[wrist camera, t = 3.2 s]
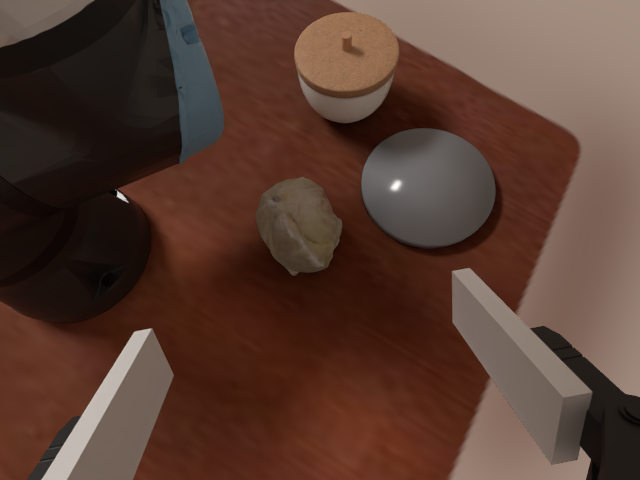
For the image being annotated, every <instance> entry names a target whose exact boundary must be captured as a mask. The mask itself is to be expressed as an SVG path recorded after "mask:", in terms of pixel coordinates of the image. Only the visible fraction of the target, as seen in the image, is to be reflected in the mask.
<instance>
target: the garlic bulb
mask: <svg viewBox="0 0 640 480" xmlns="http://www.w3.org/2000/svg"><path fill="white" fill-rule="evenodd" d="M255 218H256V223H257V228H258V230H259V232H260V235H261V238H262V239H263V241H264V242H265V243H266V245H267V246H268V247H269V249H270V252H271V254H272V256H273V257H274V258H275V259H276V260H277V261H278V262H279V263H280V264H281V265H283V266H284V267H285V268H286V269H287V270H288V271H289V272H290V273H291V274H292V275H293V276H295V275H297V274H298V272H306V273H310V272H317V271H321V270H323V269H325V268H327V267H328V266H329V263H330V261H331V259H332V258H333V250H334V249H335V248H336V247H337V245H338V243H339V241H340V239H339V237H340V235H341V230H342V227H343V226H342V221H341V219H340V218H337V216H336V215H335V214H334V213H333V211H332V206H331V204H330V202H329V200H328V199H327V197H326V195H325V191H324V190H323V188H322V187H321V186H319V185H318V184H316V183H315V182H313V181H311V180H310V179H305V177H301V178H299V179H288V180H284V181H282V182H280V183H277V184H275V185H274V186H273V187H272V188H270V189H268V190H267V191H266V192H264V193H263V194H262V196H261V199H260V203H259V206H258V209H257V211H256V214H255Z"/></svg>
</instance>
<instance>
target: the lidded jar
mask: <svg viewBox="0 0 640 480" xmlns="http://www.w3.org/2000/svg"><path fill="white" fill-rule="evenodd" d="M294 55H295V64H296V68H297V71H298V76H299V81H300V84H301V87H302V91H303V93H304V95H305V97H306V99H307V101H308V103H309V104H310V105H311V107H312V108H313V109H314V110H315V111H316V112H317V113H318V114H320V115H321V116H323V117H324V118H326V119H328V120H331V121H334V122H338V123H352V122H355V121H359V120H362V119H364V118H366V117H367V116H369V115H371V114H372V113H373V112H374V111H376V109H377V108H378V107H379V106H380V105H381V104H382V102H383V101H384V99H385V98H386V96H387V94H388V92H389V89H390V87H391V84H392V81H393V77H394V73H395V69H396V67H397V63H398V58H399V45H398V41H397V39H396V37H395V35H394V34H393V32H392V31H391V29H390V28H389V27H388V26H387V25H385V24H384V23H383V22H382V21H380V20H378V19H376V18H374V17H371V16H369V15H366V14H361V13H354V12H344V13H336V14H332V15H328V16H325V17H322V18H320V19H319V20H317V21H315V22H313V23H312V24H310V25H309V26H308V27H307V28H306V29H305V30H304V31H303V33H302V34H301V35H300V37H299V39H298V41H297V43H296V46H295V52H294Z"/></svg>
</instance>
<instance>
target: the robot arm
mask: <svg viewBox="0 0 640 480" xmlns="http://www.w3.org/2000/svg"><path fill="white" fill-rule="evenodd" d="M223 130H224V114H223V109H222V104H221V100H220V96H219V93H218V89H217V86H216V82H215V79H214V76H213V72H212V69H211V66H210V63H209V60H208V57H207V54H206V52H205V49H204V46H203V44H202V42H201V40H200V38H199V37H198V31H197V28H196V26H195V23H194V20H193V16H192V13H191V10H190V7H189V5H188V2H187V0H0V301H1V302H3V303H4V304H6V305H8V306H10V307H11V308H12V309H13V310H15V311H17V312H18V313H20V314H22V315H25V316H27V317H30V318H33V319H37V320H44V321H51V322H58V323H70V322H78V321H82V320H86V319H89V318H92V317H94V316H96V315H99V314H101V313H102V312H104V311H106V310H108V309H109V308H111V307H112V306H114V305H115V304H116V303H117V302H119V301H120V300H121V299H122V298H123V297H124V296H125V295H126V294H127V293H128V292H129V291H130V290H131V289H132V287H133V286H134V285H135V283H136V282H137V280H138V279H139V277H140V275H141V274H142V272H143V270H144V267H145V265H146V262H147V259H148V256H149V251H150V242H151V237H150V228H149V224H148V221H147V219H146V216H145V214H144V213H143V211H142V210H141V208H140V207H139V206H138V205H137V204H136V203H135V202H134V201H133V200H132V199H130V198H129V197H128V196H127V195H125V194H124V193H123V192H121V191H120V190H118V188H120V187H122V186H125V185H127V184H130V183H132V182H134V181H137V180H139V179H142V178H144V177H146V176H149V175H151V174H154V173H156V172H159V171H161V170H163V169H166V168H168V167H171V166H173V165H175V164H181V163H183V162H185V160H186V159H187V158H188V157H190V156H192V155H194V154H196V153H198V152H200V151H202V150H203V149H205V148H207V147H209V146H211V145H213V144H214V143H215V142H217V141H218V139H219V138H220V136H221V135H222V133H223ZM452 322H453V324H454V325H455V326H456V328H457V329H458V331H459V332H460V334H461V335H462V337H463V338H464V339H465V341H466V342H467V344H468V345H469V347H470V348H471V349H472V351H473V352H474V354H475V355H476V357H477V358H478V360H479V361H480V362H481V364H482V365H483V367H484V368H485V370H486V371H487V373H488V374H489V375H490V377H491V378H492V380H493V381H494V383H495V384H496V386H497V387H498V388H499V390H500V391H501V392H502V394H503V395H504V397H505V398H506V400H507V401H508V403H509V404H510V406H511V407H512V408H513V410H514V411H515V413H516V414H517V416H518V417H519V419H520V420H521V422H522V423H523V424H524V426H525V427H526V429H527V430H528V432H529V433H530V434H531V436H532V437H533V439H534V440H535V442H536V443H537V445H538V446H539V447H540V449H541V450H542V452H543V453H544V454H545V456H546V457H547V459H548V460H549V462H550V463H551V464H558V463H563V462H568V461H573V460H577V459H578V454H579V450H580V446H581V447H582V449H583V450H584V451H585V452H586V453H587V455H588V456H589V457H590V458H591V462H590V466H589V470H588V474H587V478H586V480H640V397H637V396H633V395H627V394H625V393H623V392H622V391H621V390H620V389H619V388H618V387H617V386H616V385H614V384H613V383H612V382H611V381H610V380H609V379H608V378H607V377H606V376H605V375H604V374H603V373H601V372H600V371H599V370H598V369H597V368H596V367H595V366H594V365H593V364H592V363H590V362H589V361H588V360H587V359H586V358H585V357H582V354H581V353H580V352H578V351H577V350H576V349H575V348H573V347H572V345H571V344H570V343H569V342H568V341H566V340H565V339H564V338H563V337H562V336H561V335H560V334H558V333H556V332H554V331H552V330H550V329H549V328H547V327H545V326H541V327H536V328H529V327H528V326H527V325H526V324H525V323H524V322H523V321H522V320H521V319H520V318H519V317H518V316H517V315H516V314H515V313H514V312H513V311H512V310H511V309H510V308H509V307H508V306H507V305H506V304H505V303H504V302H503V301H502V300H501V299H500V298H499V297H498V296H497V295H496V294H495V293H494V292H493V291H492V290H491V289H490V288H489V287H488V286H487V285H486V284H485V283H484V282H483V281H482V280H481V279H480V278H479V277H478V276H477V275H476V274H475V273H474V272H473V271H472V270H471V269H470V268H466V269H461V270H456V271H452ZM173 376H174V374H173V372H172V370H171V368H170V366H169V364H168V361H167V359H166V357H165V355H164V353H163V351H162V349H161V346H160V344H159V342H158V340H157V338H156V336H155V334H154V331H153V329H152V328H151V329H145V330H140V331H135V332H134V333H133V335H132V336H131V338H130V339H129V341H128V343H127V344H126V346H125V347H124V349H123V351H122V352H121V354H120V355H119V357H118V359H117V360H116V362H115V363H114V365H113V367H112V368H111V370H110V371H109V373H108V375H107V376H106V378H105V379H104V381H103V382H102V384H101V386H100V387H99V389H98V390H97V392H96V394H95V395H94V397H93V398H92V400H91V402H90V403H89V405H88V406H87V408H86V410H85V411H84V413H83V414H82V415H81V416H76V417H73V418H72V419H71V420H70V421H69V422H68V423H67V424H66V425H65V426H64V427H63V428H62V429H61V430H60V431H59V432H58V434H57V435H56V437H55V438H54V440H53V441H52V443H51V444H50V446H49V450H46V452H45V453H44V455H43V456H42V458H41V459H40V463H38V464H37V466H36V467H35V469H34V470H33V472H32V473H31V475H30V476H29V478H28V479H27V480H133V478H134V475H135V473H136V470H137V468H138V465H139V463H140V460H141V458H142V455H143V452H144V450H145V447H146V445H147V442H148V440H149V437H150V435H151V432H152V430H153V427H154V425H155V422H156V420H157V417H158V414H159V412H160V409H161V407H162V404H163V402H164V399H165V397H166V394H167V392H168V389H169V387H170V384H171V382H172V379H173Z"/></svg>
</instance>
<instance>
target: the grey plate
mask: <svg viewBox="0 0 640 480" xmlns="http://www.w3.org/2000/svg"><path fill="white" fill-rule="evenodd" d="M361 194H362V200H363V203H364V206H365V209H366V211H367V213H368V215H369V216H370V218H371V219H372V221H373V222H374V223H375V224H376V225H377V226H378V228H380V229H381V230H382V231H383V232H384V233H385V234H387V235H388V236H390V237H391V238H393V239H395V240H397V241H399V242H401V243H403V244H406V245H409V246H413V247H417V248H425V249H436V248H444V247H448V246H452V245H455V244H457V243H460V242H462V241H463V240H465V239H467V238H468V237H470V236H471V235H472V234H473V233H475V232H476V231H477V230H478V229H479V228H480V227H481V226H482V225H483V224H484V222H485V221H486V219H487V218H488V217H489V215H490V213H491V211H492V208H493V205H494V202H495V194H496V191H495V181H494V177H493V173H492V171H491V169H490V166H489V164H488V163H487V161H486V160H485V158H484V157H483V156H482V154H481V153H480V152H479V151H478V150H477V149H476V148H475V147H474V146H473V145H471V144H470V143H469V142H467V141H466V140H464V139H462V138H460V137H459V136H456V135H454V134H452V133H449V132H446V131H442V130H437V129H429V128H417V129H410V130H406V131H402V132H399V133H396V134H394V135H392V136H390V137H388V138H387V139H385V140H384V141H382V142H381V143H380V144H379V145H378V146H377V147H376V148H375V149H374V150H373V151H372V153H371V154H370V156H369V157H368V159H367V161H366V163H365V166H364V169H363V173H362V182H361Z"/></svg>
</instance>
